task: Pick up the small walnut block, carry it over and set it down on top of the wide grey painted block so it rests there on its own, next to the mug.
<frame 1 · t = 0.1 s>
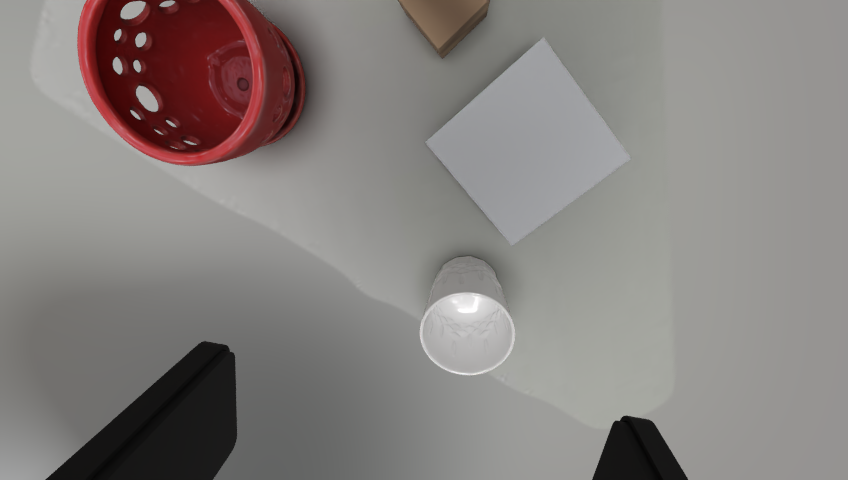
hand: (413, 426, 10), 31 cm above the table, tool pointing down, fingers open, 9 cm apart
plant pot: (256, 80, 38), on the table
grey block: (518, 144, 38), on the table
walnut block: (445, 14, 34), on the table
white cup: (466, 284, 42), on the table
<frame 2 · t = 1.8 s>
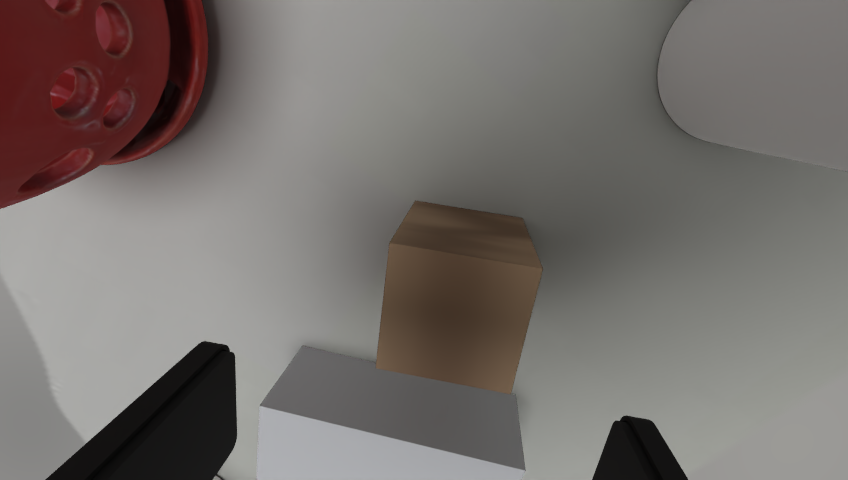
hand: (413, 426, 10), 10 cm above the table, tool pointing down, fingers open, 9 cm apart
plant pot: (116, 31, 18), on the table
grey block: (392, 446, 24), on the table
mug: (715, 27, 15), on the table
walnut block: (459, 258, 19), on the table
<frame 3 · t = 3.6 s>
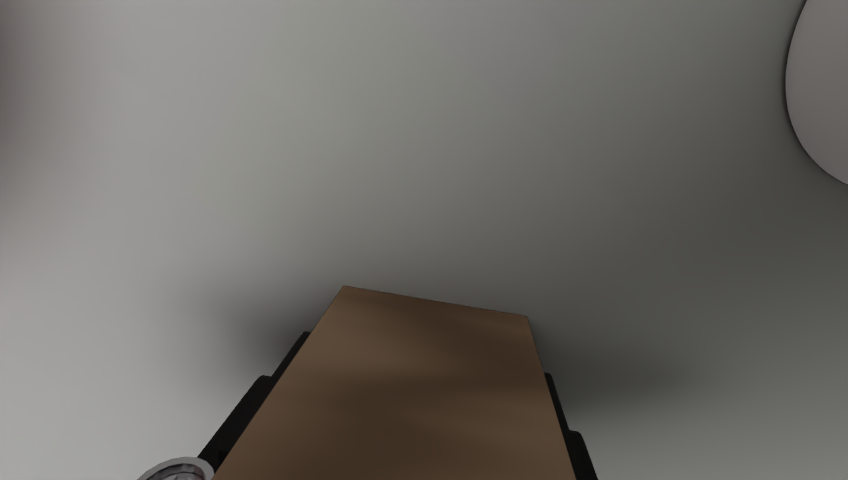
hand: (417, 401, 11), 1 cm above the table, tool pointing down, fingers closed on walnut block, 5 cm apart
walnut block: (421, 377, 11), on the table, touching gripper
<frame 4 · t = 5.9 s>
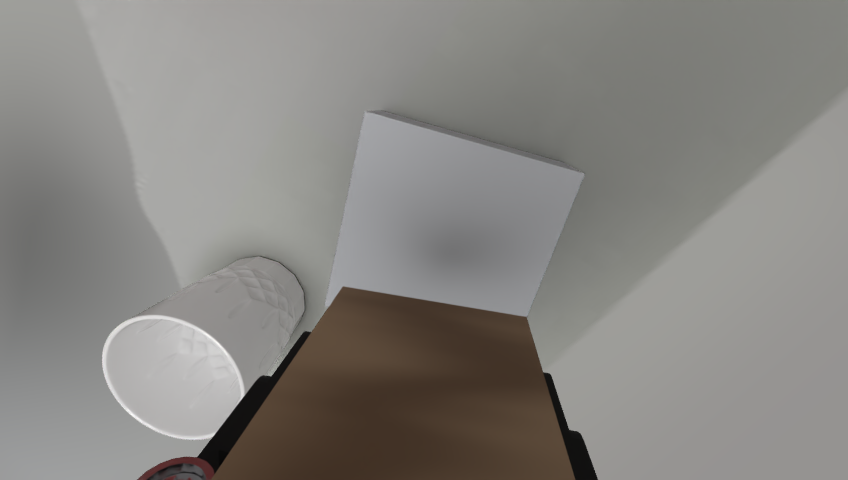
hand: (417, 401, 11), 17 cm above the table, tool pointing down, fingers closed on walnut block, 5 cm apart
grey block: (447, 222, 27), on the table
walnut block: (421, 377, 11), point 16 cm above the table, touching gripper
white cup: (264, 295, 30), on the table
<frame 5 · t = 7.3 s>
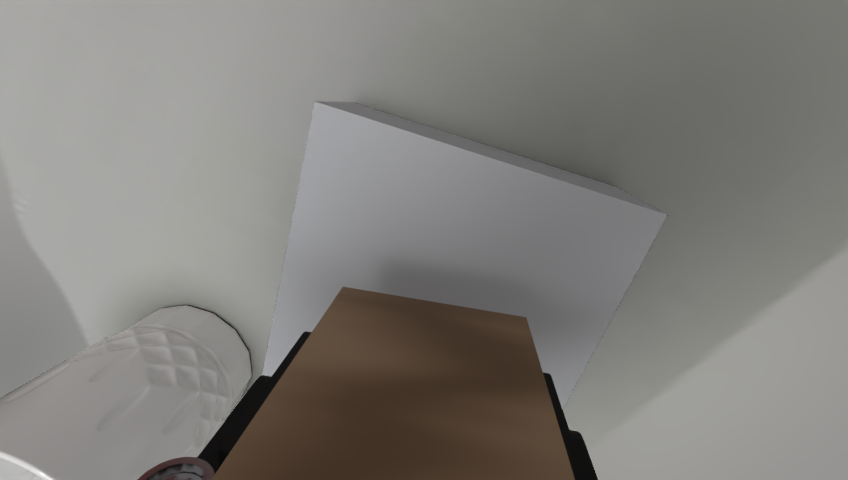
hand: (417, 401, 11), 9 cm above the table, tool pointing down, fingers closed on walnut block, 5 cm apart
grey block: (443, 262, 19), on the table
walnut block: (421, 378, 11), point 8 cm above the table, touching gripper
white cup: (198, 354, 23), on the table
when the fingers open (7 cm above the table, at t = 8.6 s): walnut block drops 1 cm, point 5 cm above the table.
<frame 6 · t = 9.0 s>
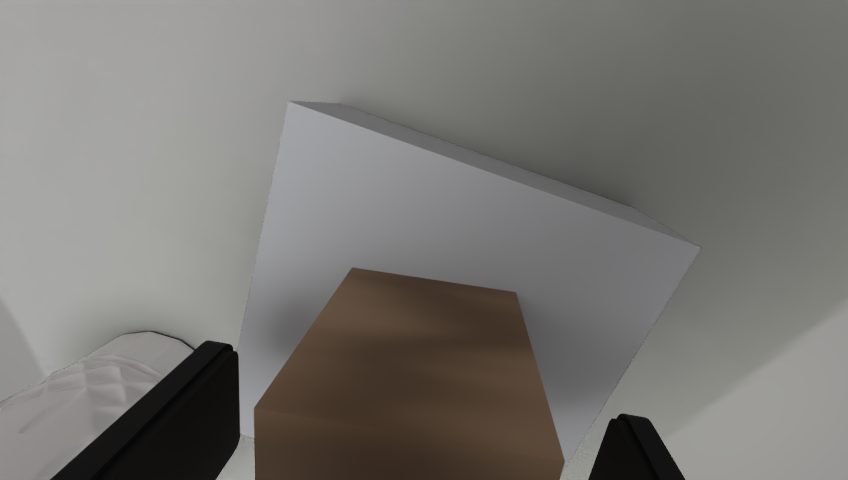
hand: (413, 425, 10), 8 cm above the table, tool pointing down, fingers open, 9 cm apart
grey block: (436, 285, 17), on the table
walnut block: (423, 349, 13), point 5 cm above the table
white cup: (165, 384, 20), on the table
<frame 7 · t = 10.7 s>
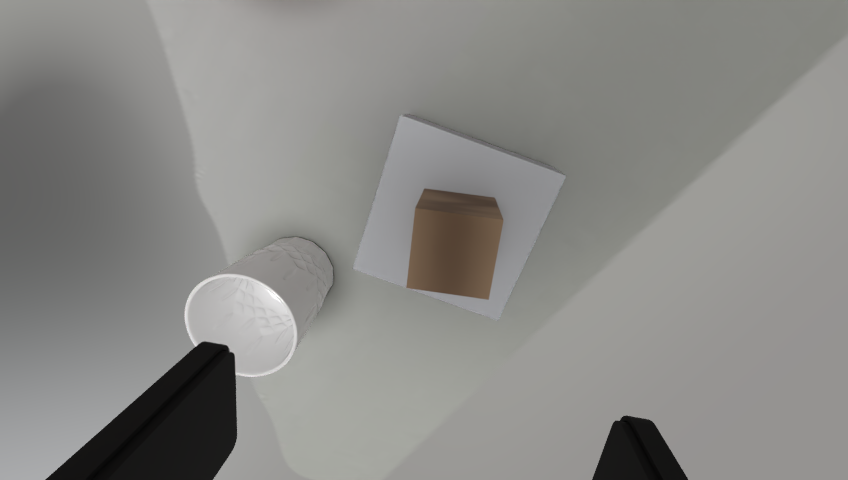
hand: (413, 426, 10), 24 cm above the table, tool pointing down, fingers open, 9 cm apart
grey block: (453, 208, 33), on the table, touching walnut block
walnut block: (454, 226, 29), point 5 cm above the table, touching grey block
white cup: (299, 270, 36), on the table
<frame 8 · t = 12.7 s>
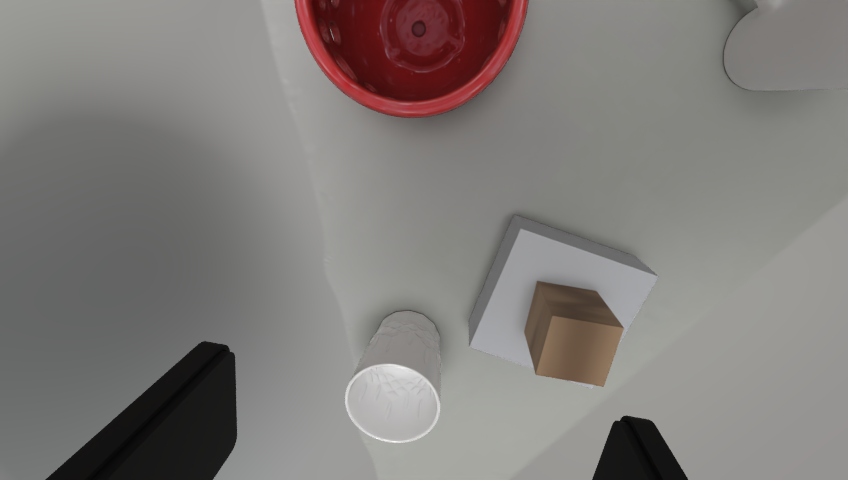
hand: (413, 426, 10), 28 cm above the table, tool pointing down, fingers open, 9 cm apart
plant pot: (427, 32, 33), on the table
grey block: (547, 288, 39), on the table
mug: (752, 32, 30), on the table
walnut block: (559, 311, 34), point 5 cm above the table
white cup: (408, 337, 42), on the table
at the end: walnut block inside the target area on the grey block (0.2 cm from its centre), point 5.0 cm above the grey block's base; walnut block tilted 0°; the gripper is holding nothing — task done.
